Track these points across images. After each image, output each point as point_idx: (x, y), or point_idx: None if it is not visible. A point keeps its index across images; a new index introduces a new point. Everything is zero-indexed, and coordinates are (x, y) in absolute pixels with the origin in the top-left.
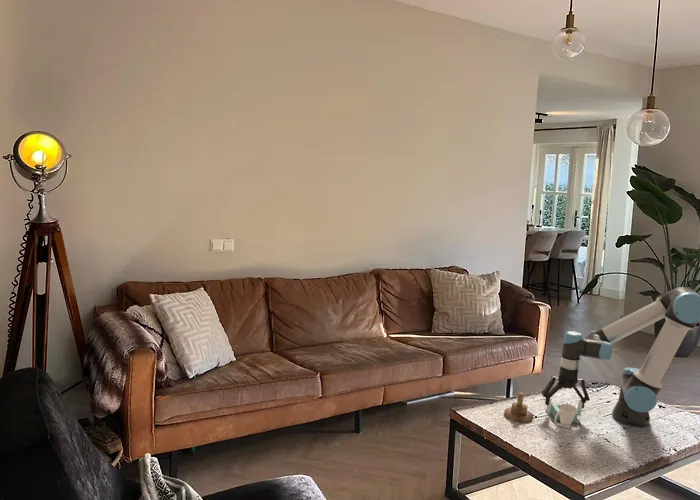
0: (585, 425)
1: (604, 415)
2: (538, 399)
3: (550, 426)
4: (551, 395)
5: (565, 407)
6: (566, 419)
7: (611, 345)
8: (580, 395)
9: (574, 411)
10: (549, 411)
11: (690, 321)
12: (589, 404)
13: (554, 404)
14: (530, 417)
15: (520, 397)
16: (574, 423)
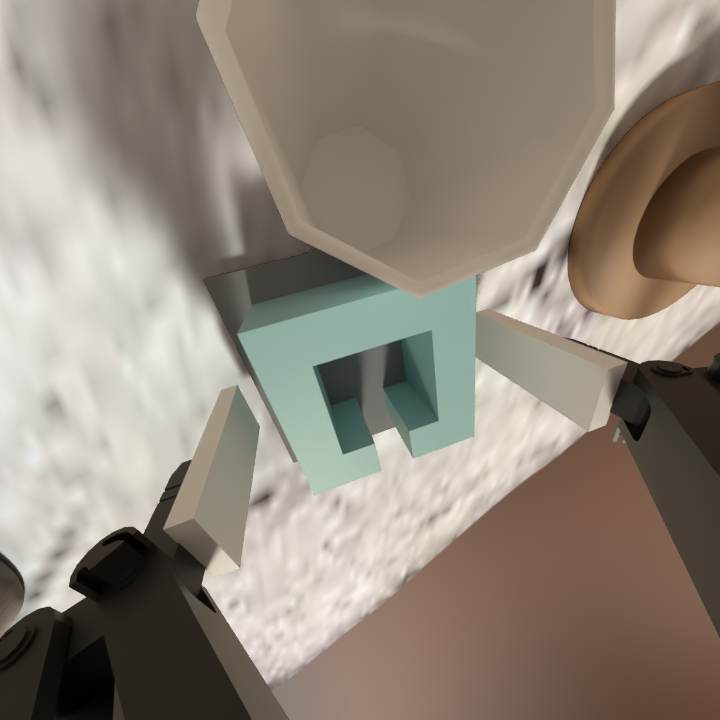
0: (164, 288)
1: (73, 541)
2: (457, 502)
3: None
4: (684, 403)
5: (435, 253)
6: (385, 35)
7: None
8: (170, 689)
9: (276, 143)
10: (490, 316)
11: None
12: None
13: (455, 421)
14: (640, 161)
15: None
16: (268, 263)
